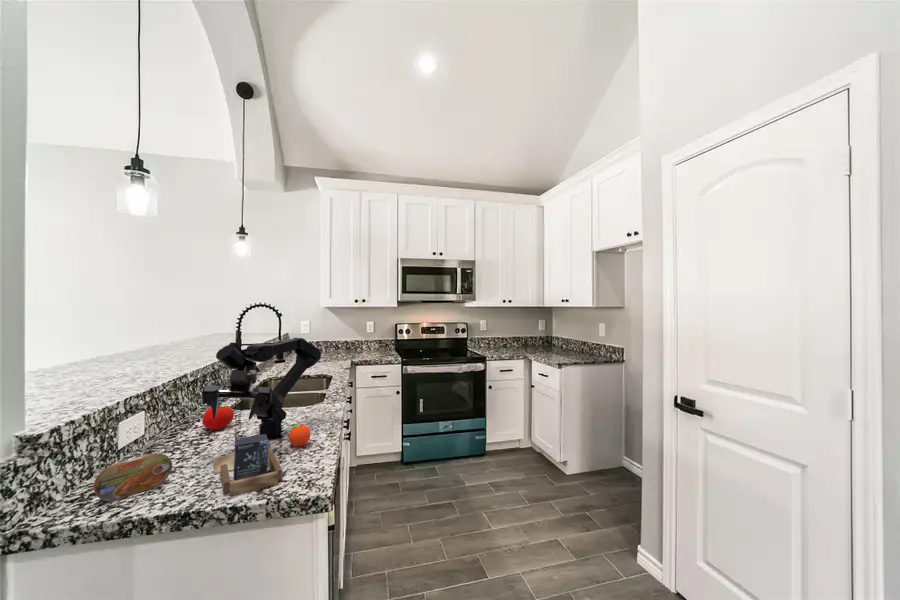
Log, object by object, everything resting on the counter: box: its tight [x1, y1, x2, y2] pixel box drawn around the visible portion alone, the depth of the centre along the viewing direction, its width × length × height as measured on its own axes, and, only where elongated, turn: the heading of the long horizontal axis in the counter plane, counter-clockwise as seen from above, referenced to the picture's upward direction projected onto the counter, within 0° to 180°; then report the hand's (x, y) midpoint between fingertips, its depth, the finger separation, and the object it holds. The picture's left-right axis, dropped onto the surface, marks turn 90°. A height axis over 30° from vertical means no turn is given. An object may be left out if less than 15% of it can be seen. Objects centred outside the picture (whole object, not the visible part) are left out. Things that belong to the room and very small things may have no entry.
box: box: [233, 434, 269, 481], centre depth 100 cm, size 8×6×11 cm
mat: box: [212, 446, 275, 475], centre depth 110 cm, size 16×12×1 cm
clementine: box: [285, 424, 312, 447], centre depth 122 cm, size 8×7×7 cm
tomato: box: [202, 405, 235, 431], centre depth 137 cm, size 9×10×8 cm
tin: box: [92, 452, 173, 502], centre depth 91 cm, size 15×3×8 cm, turn 148°
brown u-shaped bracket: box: [219, 454, 283, 497], centre depth 98 cm, size 14×14×3 cm
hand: (231, 419), depth 106 cm, fingers open, 9 cm apart
